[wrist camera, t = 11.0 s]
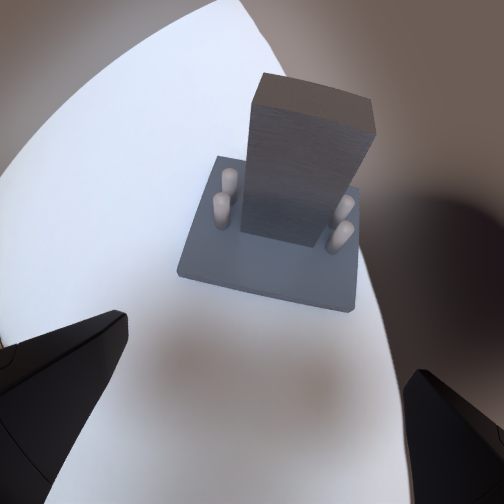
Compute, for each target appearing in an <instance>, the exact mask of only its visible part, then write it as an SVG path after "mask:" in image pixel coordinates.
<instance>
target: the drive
mask: <svg viewBox="0 0 504 504" xmlns="http://www.w3.org/2000/svg"><path fill="white" fill-rule="evenodd" d="M375 136H376V128H375V122H374V116H373V110H372V105H371V100H370V99H368V98H365V97H361V96H358V95H355V94H352V93H349V92H346V91H342V90H339V89H335V88H331V87H328V86H324V85H320V84H316V83H312V82H308V81H304V80H299V79H295V78H289V77H285V76H280V75H275V74H269V73H263V75H262V78H261V80H260V83H259V85H258V88H257V90H256V93H255V95H254V98H253V101H252V103H251V114H250V124H249V135H248V146H247V158H246V169H245V181H244V193H243V205H242V217H241V230H240V232H243V233H247V234H252V235H257V236H261V237H266V238H270V239H275V240H279V241H284V242H288V243H293V244H297V245H302V246H306V247H310V248H313V247H314V246H315V244H316V242H317V240H318V239H319V237H320V235H321V234H322V232H323V230H324V229H325V227H326V225H327V223H328V222H329V220H330V218H331V217H332V215H333V213H334V211H335V210H336V208H337V206H338V204H339V203H340V201H341V199H342V197H343V196H344V194H345V192H346V190H347V188H348V187H349V185H350V183H351V181H352V179H353V177H354V176H355V174H356V172H357V170H358V168H359V167H360V165H361V163H362V161H363V159H364V157H365V155H366V154H367V152H368V150H369V148H370V146H371V144H372V142H373V140H374V138H375Z"/></svg>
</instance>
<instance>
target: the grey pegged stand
mask: <svg viewBox="0 0 504 504" xmlns="http://www.w3.org/2000/svg"><path fill="white" fill-rule="evenodd" d="M245 169H246V161H243V160H238V159H232V158H227V157H221V156H217V158H216V161H215V163H214V166H213V169H212V171H211V174H210V176H209V179H208V182H207V184H206V187H205V190H204V192H203V195H202V198H201V200H200V203H199V206H198V209H197V211H196V214H195V217H194V220H193V223H192V226H191V228H190V231H189V234H188V237H187V240H186V243H185V246H184V249H183V252H182V255H181V258H180V261H179V264H178V267H177V273H178V275H179V276H180V277H184V278H188V279H192V280H196V281H200V282H205V283H209V284H213V285H217V286H222V287H226V288H230V289H235V290H239V291H244V292H248V293H253V294H257V295H262V296H267V297H271V298H276V299H281V300H286V301H290V302H295V303H300V304H305V305H310V306H315V307H320V308H326V309H331V310H336V311H342V312H347V313H349V312H351V311H352V310H354V307H355V296H356V283H357V268H358V247H359V188H356V187H353V186H349V187H348V188H347V190H346V192H345V194H344V196H343V197H342V199H341V201H340V203H339V204H338V206H337V208H336V210H335V211H334V213H333V215H332V217H331V218H330V220H329V222H328V223H327V225H326V227H325V229H324V230H323V232H322V234H321V235H320V237H319V239H318V240H317V242H316V244H315V246H314V247H313V248H310V247H306V246H302V245H297V244H293V243H288V242H284V241H279V240H275V239H270V238H266V237H261V236H257V235H252V234H247V233H243V232H240V230H241V217H242V205H243V193H244V181H245Z"/></svg>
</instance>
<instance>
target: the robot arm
mask: <svg viewBox="0 0 504 504" xmlns="http://www.w3.org/2000/svg"><path fill="white" fill-rule="evenodd" d="M128 336H129V334H128V316H127V314H126V313H124V312H121V311H118V310H112V311H109V312H106V313H103V314H100V315H97V316H95V317H92V318H89V319H86V320H83V321H80V322H77V323H75V324H72V325H69V326H66V327H63V328H60V329H57V330H55V331H52V332H49V333H46V334H43V335H40V336H37V337H34V338H31V339H29V340H26V341H23V342H20V343H19V344H14V345H11V346H8V347H5V348H2V349H0V504H44V502H45V500H46V498H47V496H48V494H49V492H50V490H51V488H52V485H53V483H54V481H55V479H56V477H57V475H58V473H59V471H60V469H61V467H62V466H63V464H64V462H65V460H66V458H67V456H68V454H69V452H70V450H71V448H72V447H73V445H74V443H75V441H76V439H77V437H78V436H79V434H80V432H81V430H82V428H83V427H84V425H85V423H86V421H87V419H88V418H89V416H90V414H91V412H92V411H93V409H94V407H95V405H96V404H97V402H98V400H99V399H100V397H101V395H102V393H103V392H104V390H105V388H106V387H107V385H108V383H109V381H110V379H111V377H112V375H113V373H114V370H115V368H116V366H117V364H118V361H119V359H120V357H121V355H122V353H123V350H124V348H125V346H126V344H127V341H128ZM403 403H404V414H405V428H406V436H407V443H408V449H409V456H410V464H411V472H412V480H413V491H414V504H504V430H503V429H502V428H500V427H499V426H498V425H496V424H495V423H494V422H493V421H491V420H490V419H489V418H488V417H486V416H485V415H484V414H483V413H481V412H480V411H479V410H478V409H477V408H475V407H474V406H473V405H472V404H470V403H469V402H468V401H466V400H465V399H464V398H463V397H461V396H460V395H459V394H458V393H456V392H455V391H454V390H453V389H451V388H450V387H449V386H448V385H446V384H445V383H444V382H442V381H441V380H440V379H438V378H437V377H436V376H435V375H434V374H432V373H431V372H430V371H428V370H426V369H417V370H416V371H414V373H413V374H412V376H411V377H410V379H409V380H408V382H407V383H406V385H405V386H404V389H403Z"/></svg>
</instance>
